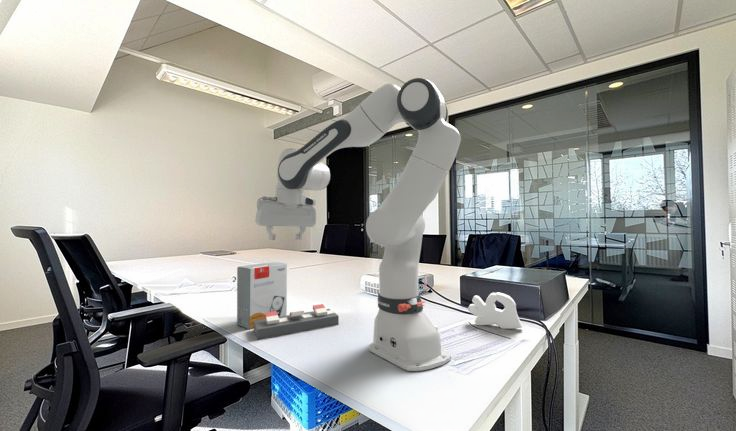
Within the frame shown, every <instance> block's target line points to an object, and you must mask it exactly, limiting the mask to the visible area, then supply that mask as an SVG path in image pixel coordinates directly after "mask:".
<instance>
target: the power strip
mask: <svg viewBox="0 0 736 431" xmlns="http://www.w3.org/2000/svg"><path fill="white" fill-rule="evenodd" d="M326 310H327V311H328V313H327V315H323V316H317V315H316V314H315V312H314V310H313V311H307V312H304V315H299V316H290V314H288V315H287V316H281V317H279V323H275V324H269V325H267V322H266V319H262V320H255V321H254V327H253V331H254V334H255V337H256V339H257V341H258V340H259V341H260V340H263V339H264V340H265V339H268V338H274V337H278V336H279V337H280V336H286V335H291V334H294V333H295V334H296V333H301V332H306V331H312V330H317V329H323V328H328V327H333V326H338V325H340V324H339V322H340V320H339V317H340V316H339V315H338V313H336V312H335V311H334V310H332V309H331V308H326Z"/></svg>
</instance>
